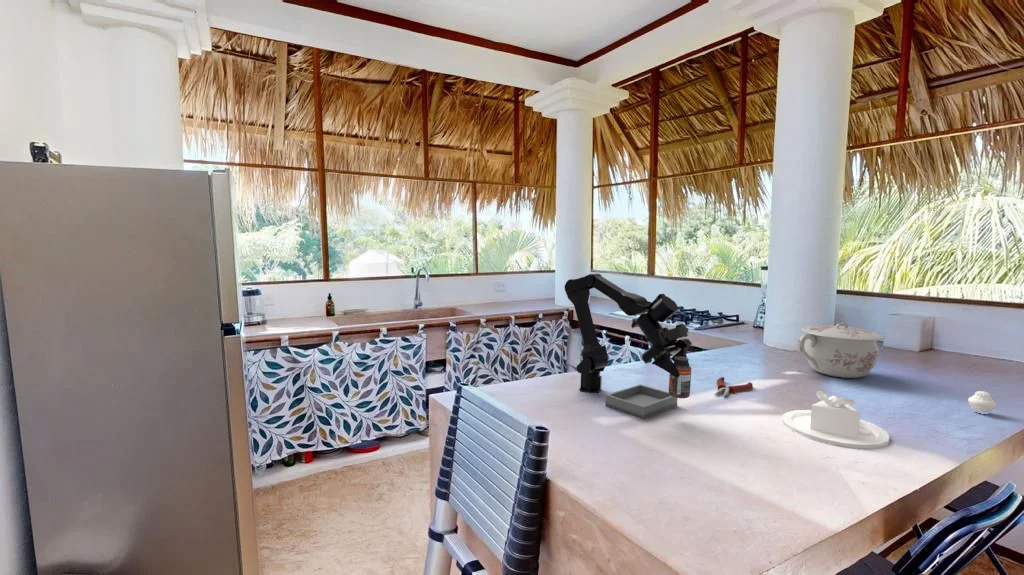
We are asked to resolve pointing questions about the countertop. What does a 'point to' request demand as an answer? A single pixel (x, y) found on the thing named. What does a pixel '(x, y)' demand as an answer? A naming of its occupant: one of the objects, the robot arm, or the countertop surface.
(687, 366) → the supplement bottle
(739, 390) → the pliers
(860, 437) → the dish
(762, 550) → the countertop surface
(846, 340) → the chamber pot
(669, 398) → the tray
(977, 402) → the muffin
